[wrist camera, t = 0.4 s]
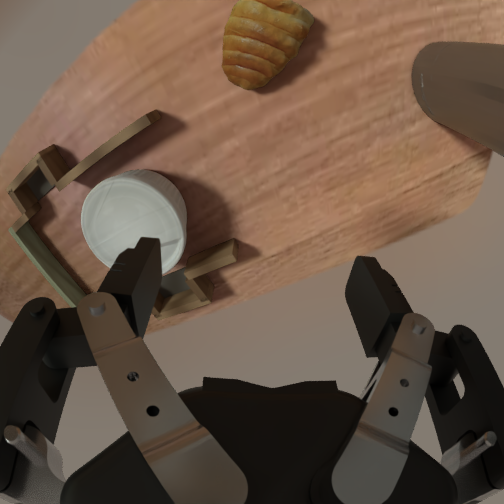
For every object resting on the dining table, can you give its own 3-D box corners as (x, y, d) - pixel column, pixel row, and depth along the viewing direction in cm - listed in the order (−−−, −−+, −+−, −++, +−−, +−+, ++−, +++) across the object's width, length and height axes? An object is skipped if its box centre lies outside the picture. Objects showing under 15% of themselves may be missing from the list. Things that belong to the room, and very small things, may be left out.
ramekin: (162, 267, 36) (150, 296, 32) (87, 216, 32) (66, 239, 28) (216, 202, 31) (209, 227, 27) (130, 139, 27) (107, 155, 23)
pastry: (274, 99, 25) (276, 104, 22) (205, 73, 24) (197, 74, 21) (315, 15, 20) (323, 8, 17) (245, -12, 19) (243, -23, 16)
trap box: (136, 76, 24) (123, 78, 21) (254, 271, 36) (253, 287, 34) (5, 196, 30) (-8, 206, 28) (108, 324, 43) (102, 338, 40)
